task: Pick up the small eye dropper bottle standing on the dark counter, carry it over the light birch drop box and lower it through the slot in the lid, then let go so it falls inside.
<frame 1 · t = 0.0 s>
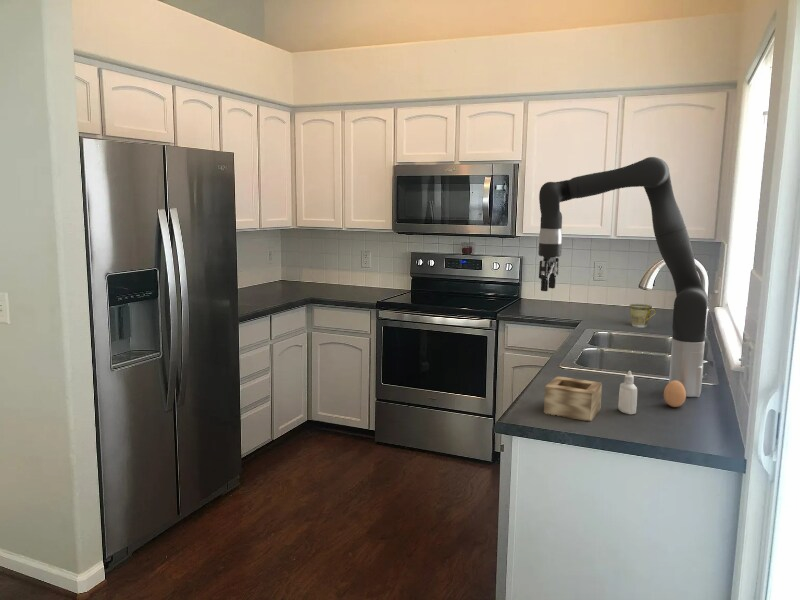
hand: (548, 289, 221), 29 cm above the worktop, tool pointing down, fingers open, 8 cm apart
ceramic cup: (642, 327, 308), on the worktop
egg: (673, 407, 191), on the worktop
eye dropper bottle: (626, 412, 186), on the worktop
drop box: (572, 411, 185), on the worktop
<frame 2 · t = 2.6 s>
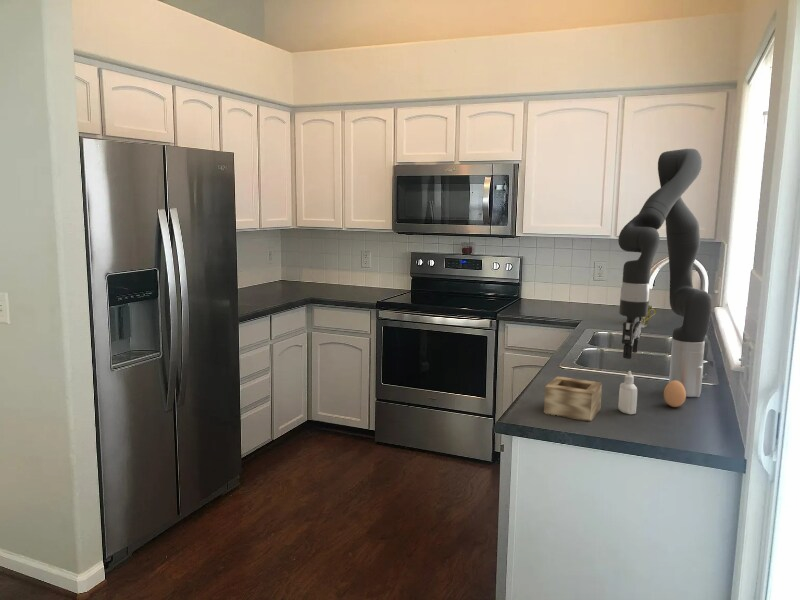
hand: (630, 355, 183), 17 cm above the worktop, tool pointing down, fingers open, 8 cm apart
nothing on the worktop moved.
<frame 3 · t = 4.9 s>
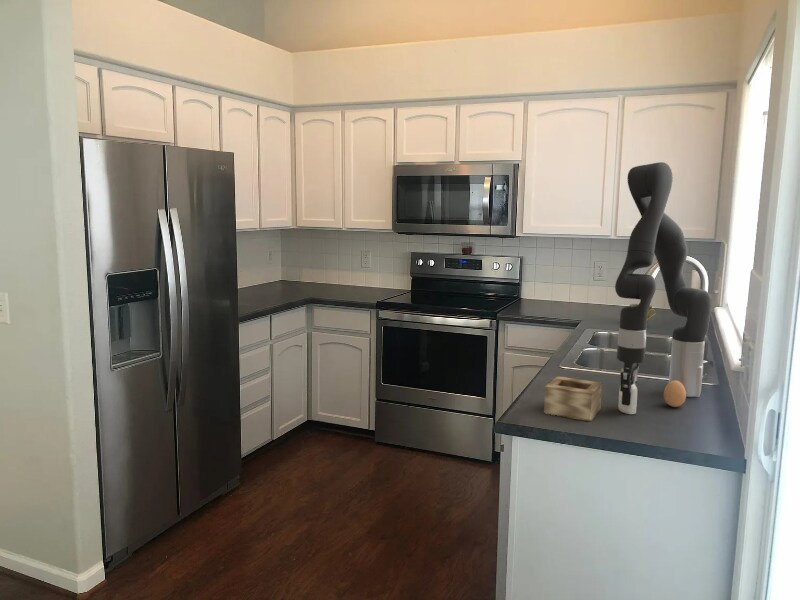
hand: (627, 401, 185), 3 cm above the worktop, tool pointing down, fingers closed on eye dropper bottle, 5 cm apart
eye dropper bottle: (626, 412, 186), on the worktop, touching gripper
everything else where it was.
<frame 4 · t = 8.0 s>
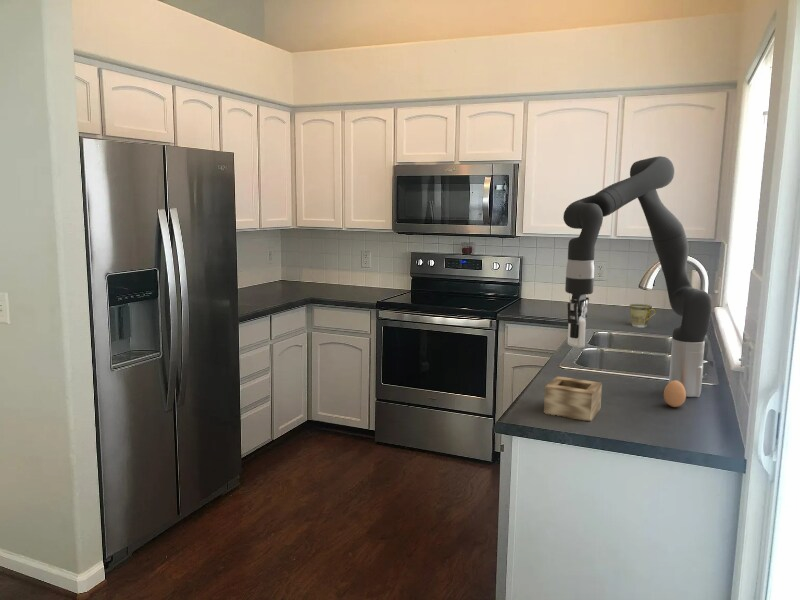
hand: (576, 335, 182), 22 cm above the worktop, tool pointing down, fingers closed on eye dropper bottle, 5 cm apart
eye dropper bottle: (575, 346, 182), point 19 cm above the worktop, touching gripper
everything else where it was.
when the fingers open (9 cm above the worktop, at t = 11.6 s): eye dropper bottle drops 6 cm, resting on drop box.
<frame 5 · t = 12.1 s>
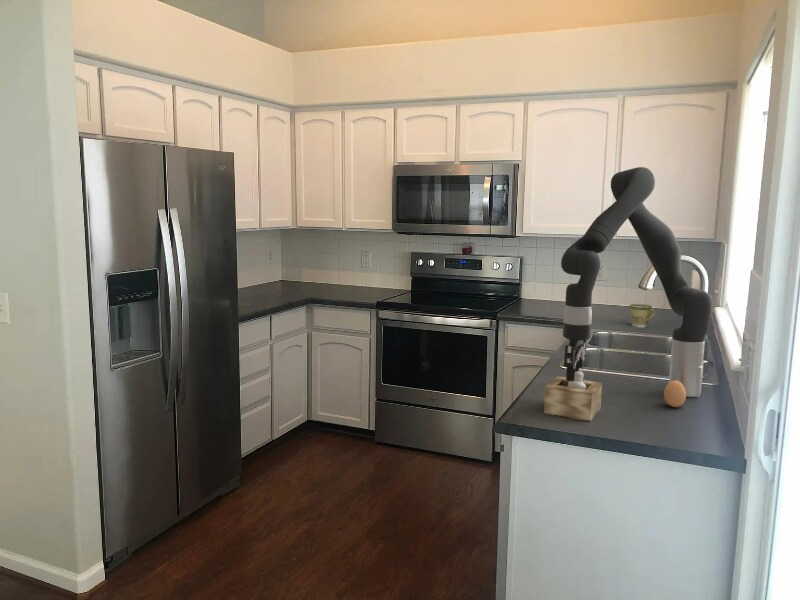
hand: (574, 377, 184), 10 cm above the worktop, tool pointing down, fingers open, 8 cm apart
eye dropper bottle: (572, 409, 185), point 1 cm above the worktop, touching drop box
everything else where it was.
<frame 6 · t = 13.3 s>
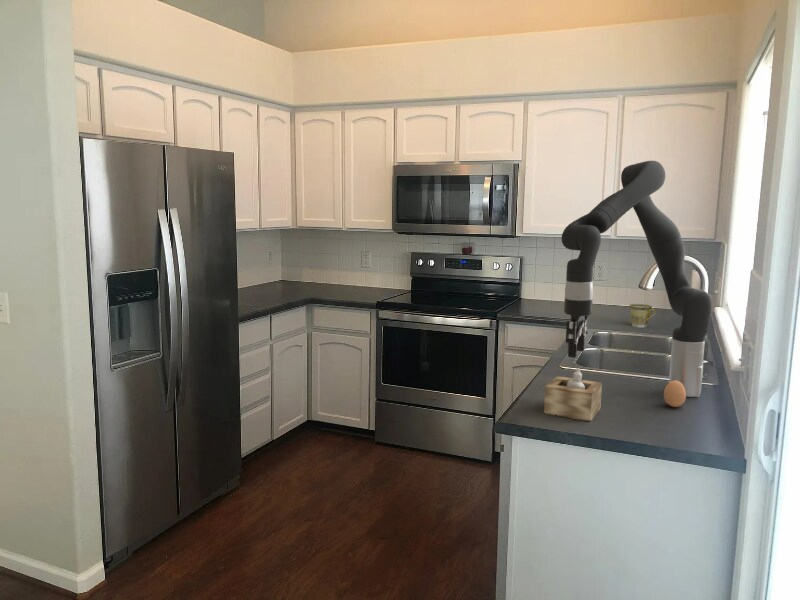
hand: (576, 353, 182), 17 cm above the worktop, tool pointing down, fingers open, 8 cm apart
nothing on the worktop moved.
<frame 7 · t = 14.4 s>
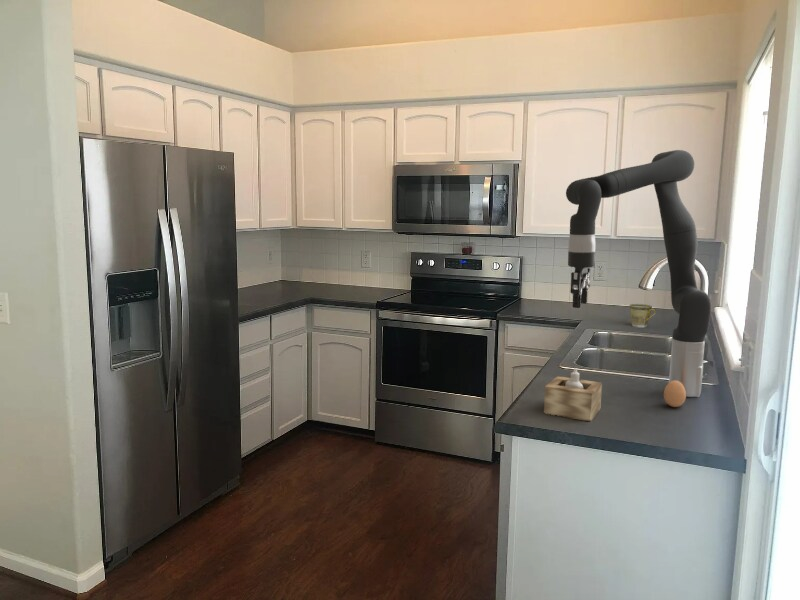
hand: (579, 305, 190), 29 cm above the worktop, tool pointing down, fingers open, 8 cm apart
nothing on the worktop moved.
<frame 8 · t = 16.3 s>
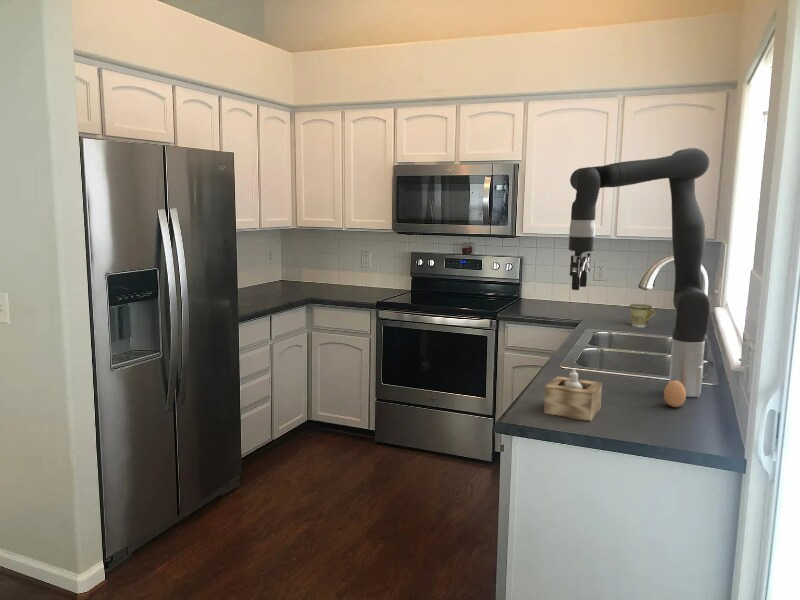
hand: (579, 288, 198), 33 cm above the worktop, tool pointing down, fingers open, 8 cm apart
nothing on the worktop moved.
at the end: eye dropper bottle inside the target area (0.3 cm from its centre), resting on drop box; the gripper is holding nothing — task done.
